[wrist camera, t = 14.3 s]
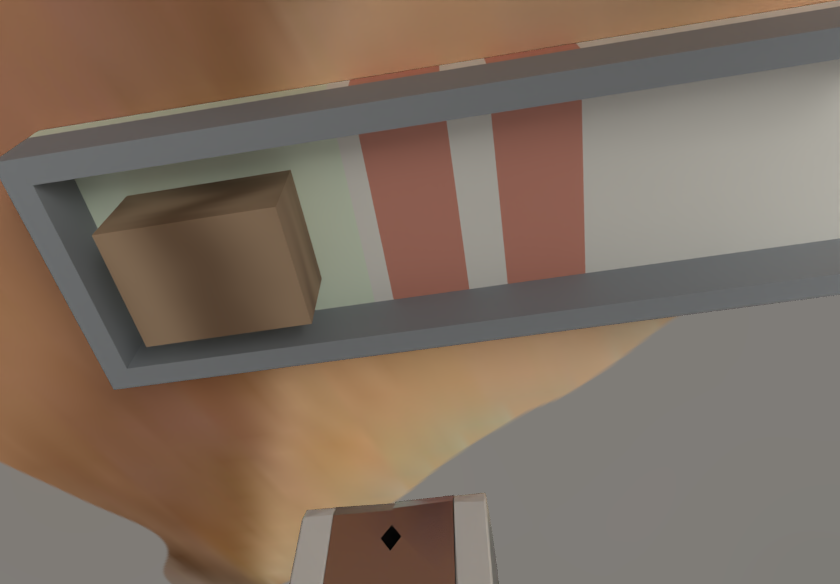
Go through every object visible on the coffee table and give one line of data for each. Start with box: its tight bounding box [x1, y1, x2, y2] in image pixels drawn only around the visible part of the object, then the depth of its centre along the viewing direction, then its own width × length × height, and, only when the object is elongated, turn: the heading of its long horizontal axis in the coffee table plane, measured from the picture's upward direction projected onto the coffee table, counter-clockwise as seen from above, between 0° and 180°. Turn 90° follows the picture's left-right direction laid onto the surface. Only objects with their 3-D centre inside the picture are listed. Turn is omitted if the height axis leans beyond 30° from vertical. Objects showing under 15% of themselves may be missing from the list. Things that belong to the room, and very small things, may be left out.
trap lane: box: [0, 0, 840, 390], centre depth 30 cm, size 38×12×4 cm, turn 99°
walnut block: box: [92, 170, 322, 347], centre depth 30 cm, size 8×6×4 cm
